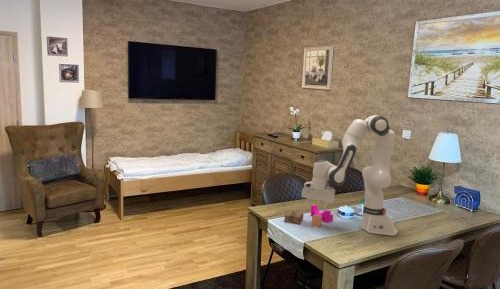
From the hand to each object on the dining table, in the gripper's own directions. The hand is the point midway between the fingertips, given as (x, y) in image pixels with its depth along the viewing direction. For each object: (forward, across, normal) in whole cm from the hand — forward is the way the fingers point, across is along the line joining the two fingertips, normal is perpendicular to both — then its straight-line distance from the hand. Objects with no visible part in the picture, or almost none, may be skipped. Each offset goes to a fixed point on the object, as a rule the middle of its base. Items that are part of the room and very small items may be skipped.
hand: (316, 206), depth 239 cm
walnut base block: (+13, +14, 0) cm, 19 cm away
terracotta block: (+12, -1, 0) cm, 12 cm away
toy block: (+12, 0, -15) cm, 19 cm away
